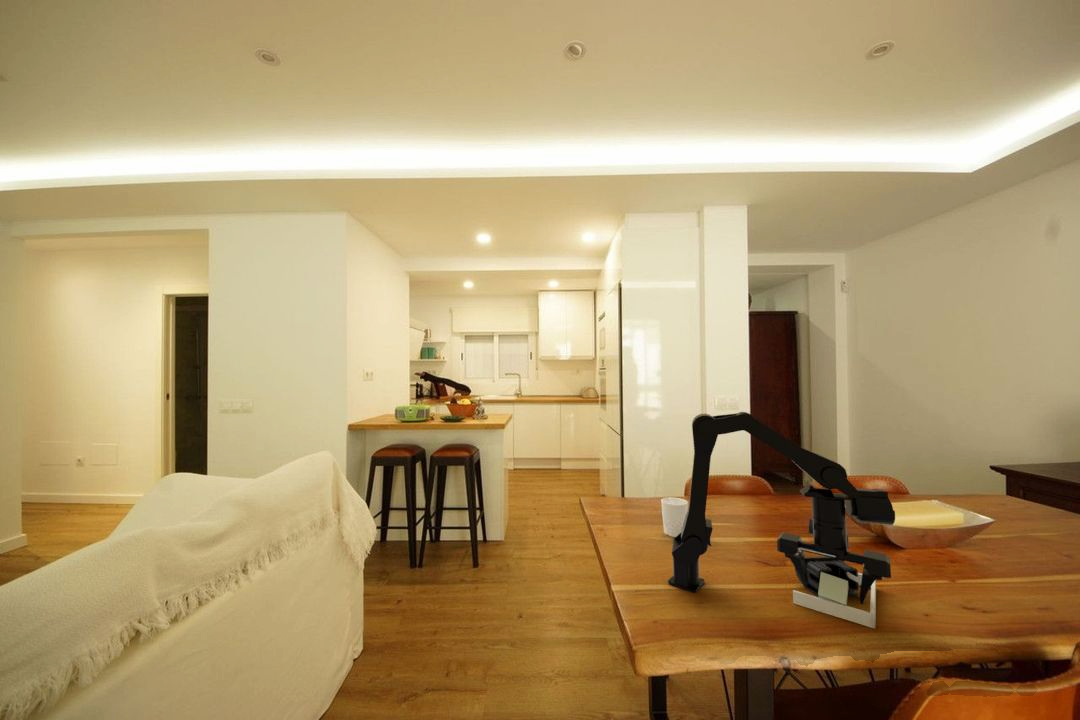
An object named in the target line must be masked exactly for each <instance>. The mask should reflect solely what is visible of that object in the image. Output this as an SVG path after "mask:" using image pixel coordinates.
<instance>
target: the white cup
mask: <svg viewBox="0 0 1080 720" xmlns="http://www.w3.org/2000/svg"><path fill="white" fill-rule="evenodd" d="M660 501H661V514H662V515H661V516H662V524H663V533H664V534H665V535H666V536H669V537H671V538H675V537H676V536H677V535H678V534H680V533H681V530H682V526H683V523H684V520H685V516H686V514H687V511H688V508H689V502H688V501H687V500H686V499H683V498H679V497H670V496H669V497H664V498H661V500H660Z"/></svg>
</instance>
